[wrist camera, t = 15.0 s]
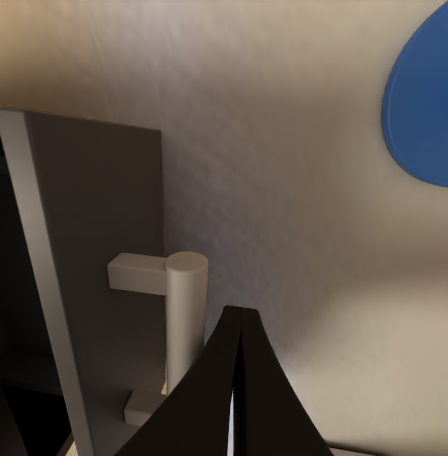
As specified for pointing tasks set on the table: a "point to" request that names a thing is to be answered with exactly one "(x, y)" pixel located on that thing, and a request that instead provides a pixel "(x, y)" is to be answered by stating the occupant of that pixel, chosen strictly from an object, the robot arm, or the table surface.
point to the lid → (420, 103)
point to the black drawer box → (33, 422)
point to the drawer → (92, 274)
